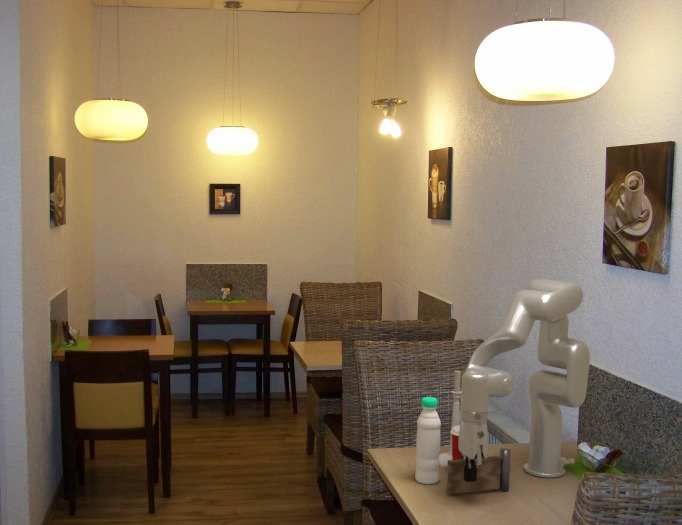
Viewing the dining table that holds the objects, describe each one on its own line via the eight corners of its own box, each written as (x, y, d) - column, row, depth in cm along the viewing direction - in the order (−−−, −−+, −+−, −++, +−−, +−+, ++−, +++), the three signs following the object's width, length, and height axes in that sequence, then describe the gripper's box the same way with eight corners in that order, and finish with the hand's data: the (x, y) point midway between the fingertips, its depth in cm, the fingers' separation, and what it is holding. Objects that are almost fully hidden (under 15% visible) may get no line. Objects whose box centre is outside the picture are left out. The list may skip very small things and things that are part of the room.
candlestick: (437, 454, 268) (440, 364, 266) (476, 458, 265) (480, 367, 262) (431, 466, 256) (434, 372, 253) (472, 471, 252) (475, 375, 250)
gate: (496, 486, 237) (497, 455, 236) (500, 488, 235) (501, 458, 234) (446, 491, 232) (447, 460, 231) (449, 493, 230) (450, 462, 229)
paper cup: (476, 470, 253) (478, 426, 251) (472, 478, 245) (473, 433, 244) (451, 467, 255) (453, 423, 254) (446, 475, 248) (448, 430, 247)
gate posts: (506, 488, 238) (508, 447, 237) (510, 491, 235) (512, 451, 234) (446, 490, 235) (447, 449, 234) (449, 493, 233) (450, 452, 232)
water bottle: (437, 486, 239) (440, 402, 236) (413, 483, 240) (416, 400, 238) (439, 477, 246) (442, 396, 243) (416, 475, 247) (419, 394, 245)
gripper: (498, 422, 221) (494, 489, 222) (474, 409, 235) (470, 471, 236) (472, 423, 219) (469, 490, 220) (450, 409, 233) (446, 472, 234)
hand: (470, 480), depth 228 cm, fingers closed
